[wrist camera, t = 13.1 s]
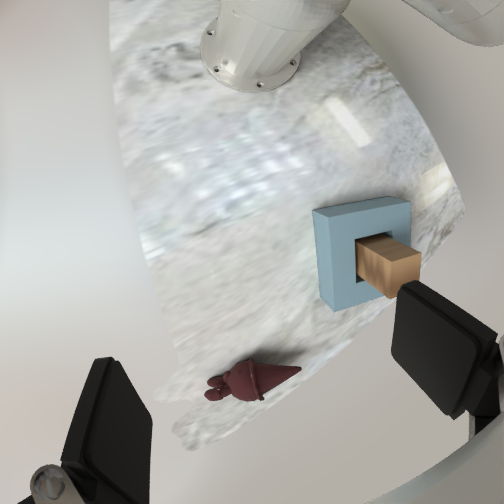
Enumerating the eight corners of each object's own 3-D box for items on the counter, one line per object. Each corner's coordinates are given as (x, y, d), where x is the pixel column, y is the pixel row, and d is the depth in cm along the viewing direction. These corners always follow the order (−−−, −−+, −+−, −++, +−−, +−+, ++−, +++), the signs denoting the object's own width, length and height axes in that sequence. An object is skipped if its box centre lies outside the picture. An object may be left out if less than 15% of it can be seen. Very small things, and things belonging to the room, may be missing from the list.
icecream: (302, 357, 37) (195, 380, 36) (310, 398, 37) (210, 419, 37) (293, 339, 44) (201, 359, 43) (301, 377, 44) (214, 395, 44)
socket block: (312, 210, 37) (327, 217, 33) (389, 196, 39) (410, 201, 34) (320, 296, 42) (334, 312, 37) (390, 274, 43) (408, 286, 38)
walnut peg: (341, 233, 39) (391, 261, 28) (368, 227, 40) (421, 252, 28) (342, 263, 41) (389, 299, 29) (368, 256, 41) (418, 288, 30)
